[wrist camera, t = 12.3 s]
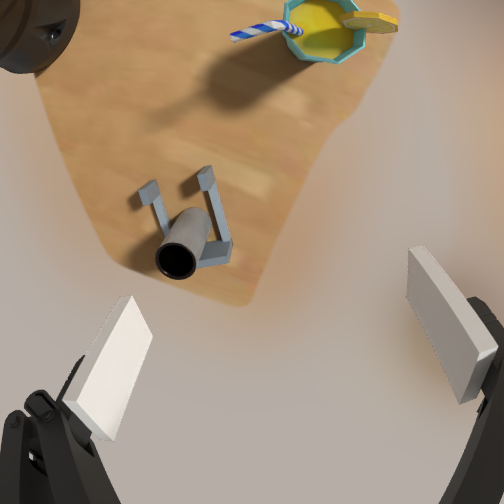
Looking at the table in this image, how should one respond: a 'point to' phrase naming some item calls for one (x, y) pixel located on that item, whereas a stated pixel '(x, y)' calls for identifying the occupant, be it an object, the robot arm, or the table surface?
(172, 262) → the grey tube
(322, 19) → the cup
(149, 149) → the table surface
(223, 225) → the endcap rail
